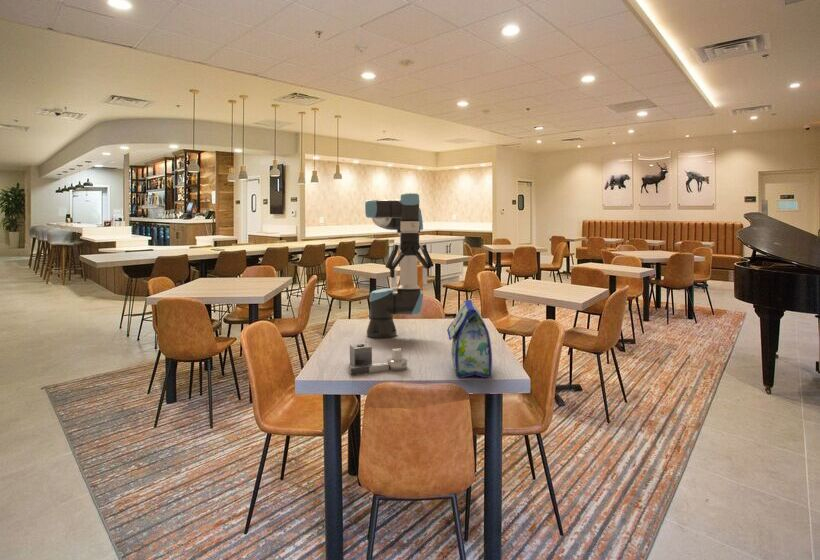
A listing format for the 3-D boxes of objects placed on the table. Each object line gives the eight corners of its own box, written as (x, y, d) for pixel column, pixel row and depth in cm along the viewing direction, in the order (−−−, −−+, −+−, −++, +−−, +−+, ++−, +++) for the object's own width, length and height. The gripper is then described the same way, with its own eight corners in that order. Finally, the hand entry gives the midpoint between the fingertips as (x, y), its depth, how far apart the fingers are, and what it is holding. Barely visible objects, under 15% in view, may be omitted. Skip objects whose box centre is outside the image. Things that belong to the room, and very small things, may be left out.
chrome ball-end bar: (347, 370, 183) (346, 351, 182) (402, 364, 192) (402, 345, 191) (352, 377, 176) (352, 357, 175) (410, 369, 185) (410, 350, 184)
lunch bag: (446, 361, 196) (447, 298, 193) (487, 362, 195) (488, 298, 192) (449, 379, 174) (450, 308, 171) (495, 379, 173) (496, 308, 170)
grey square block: (349, 363, 193) (349, 343, 192) (366, 362, 195) (366, 342, 194) (354, 368, 186) (354, 348, 185) (371, 366, 189) (371, 346, 188)
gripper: (384, 232, 182) (384, 287, 185) (441, 232, 193) (441, 284, 195) (377, 232, 189) (377, 285, 192) (433, 232, 200) (432, 282, 202)
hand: (409, 285), depth 193 cm, fingers open, 13 cm apart
